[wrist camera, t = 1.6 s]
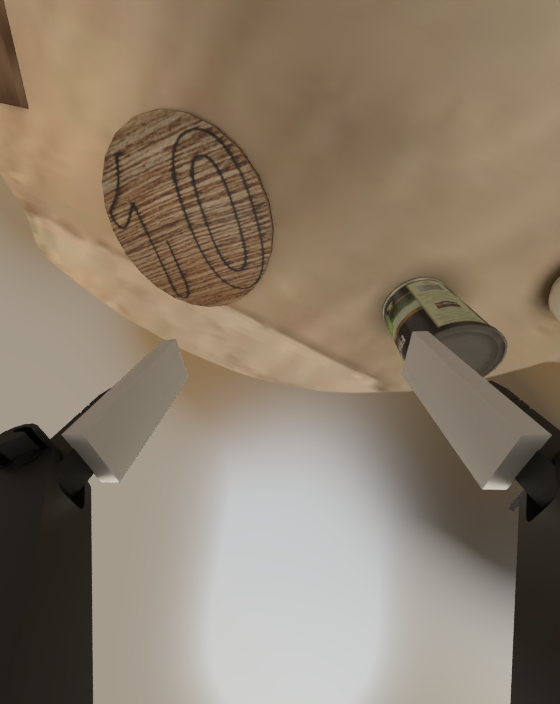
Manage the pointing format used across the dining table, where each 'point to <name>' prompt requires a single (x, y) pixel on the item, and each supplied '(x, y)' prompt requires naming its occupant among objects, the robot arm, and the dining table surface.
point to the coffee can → (443, 323)
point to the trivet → (187, 207)
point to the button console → (9, 67)
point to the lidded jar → (555, 299)
